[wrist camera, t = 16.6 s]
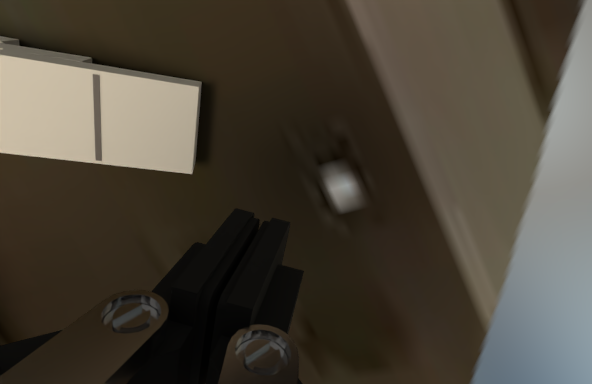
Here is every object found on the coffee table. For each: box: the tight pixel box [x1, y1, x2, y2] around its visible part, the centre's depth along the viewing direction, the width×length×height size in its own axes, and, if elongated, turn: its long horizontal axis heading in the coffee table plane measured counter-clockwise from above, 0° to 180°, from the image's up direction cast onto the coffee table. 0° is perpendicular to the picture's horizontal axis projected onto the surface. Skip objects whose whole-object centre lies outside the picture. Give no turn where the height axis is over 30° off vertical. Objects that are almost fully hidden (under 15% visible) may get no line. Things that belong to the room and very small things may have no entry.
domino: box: [0, 49, 202, 174], centre depth 20 cm, size 2×5×10 cm
